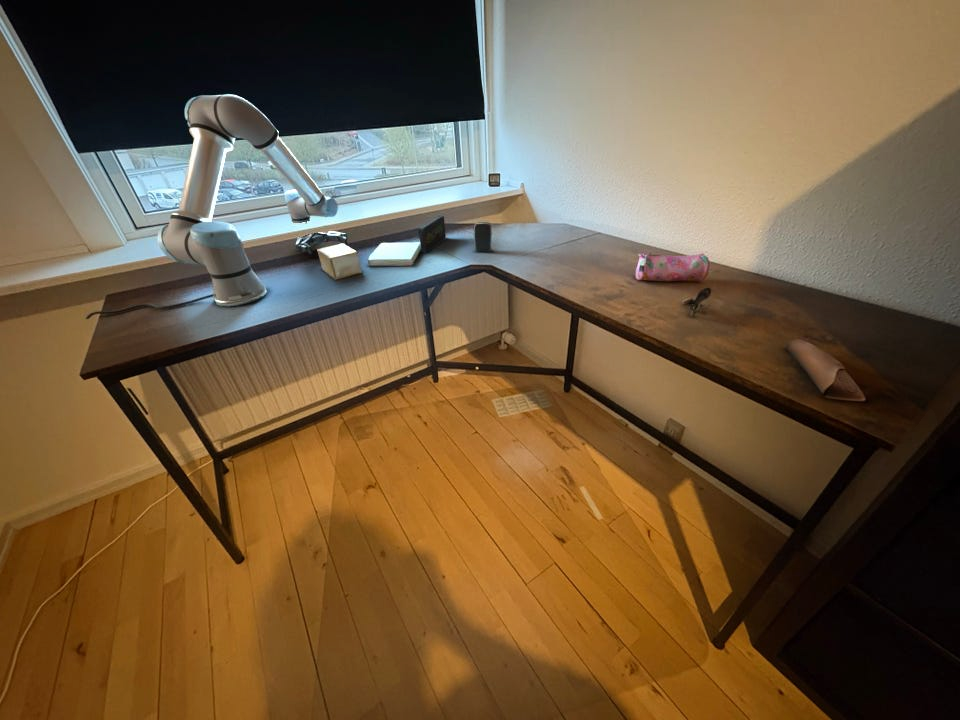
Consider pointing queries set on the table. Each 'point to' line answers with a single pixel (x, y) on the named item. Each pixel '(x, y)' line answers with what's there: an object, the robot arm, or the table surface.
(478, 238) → the battery charger
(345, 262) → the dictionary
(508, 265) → the table surface
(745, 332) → the table surface
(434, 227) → the nameplate
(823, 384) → the sunglasses case
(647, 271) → the pencil case
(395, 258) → the block
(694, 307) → the eagle figurine
